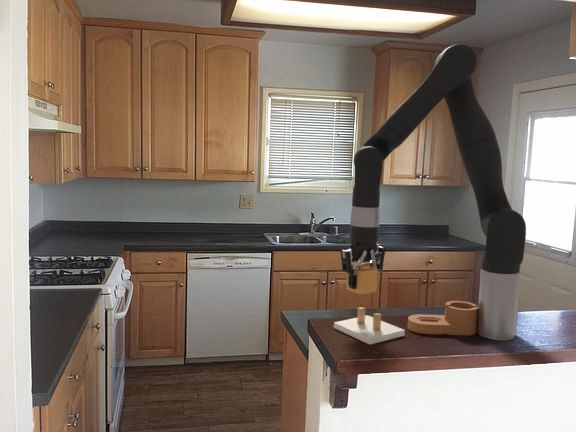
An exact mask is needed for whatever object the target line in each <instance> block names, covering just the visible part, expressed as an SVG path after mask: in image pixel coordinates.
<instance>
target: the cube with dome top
mask: <svg viewBox="0 0 576 432" xmlns="http://www.w3.org/2000/svg"><path fill="white" fill-rule="evenodd" d="M354 267H355V266H354ZM353 270H354V268H353ZM378 273H379V270H378V269H375V268H371V267H370V264H367V263H365V262H364V263H362V265H361V267H360V268H359V270H358V272H357V288H356V289H352V288H350V287H349V285H348V281H349V280H348V278H349V274H348V273H346V274H347V275H346V290H347V291H350V292H353V293H356V294H358V295H367V294H371V293H377V291H378V275H379V274H378Z"/></svg>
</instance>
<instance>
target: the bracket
mask: <svg viewBox="0 0 576 432" xmlns="http://www.w3.org/2000/svg"><path fill="white" fill-rule="evenodd" d="M444 308H445V310H444V315H443V314H417V313H416V314H412V315H411V314H410V315H409V316H408V317H407V328H408V330H409V331H412V332H413V333H417V334H422V335H424V334H425V335H442V334H449V335H448V336H472V335H473V334H474V335H476V334H478V333H477V321H478V305H477V304H476V303H472V302H469V301H463V300H450V301H447V302H445V307H444Z"/></svg>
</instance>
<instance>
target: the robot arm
mask: <svg viewBox="0 0 576 432" xmlns="http://www.w3.org/2000/svg"><path fill="white" fill-rule="evenodd" d="M477 67H478V56H477V53H476V51H475V50H474V48H473V47H471V46H469V45H467V44H463V43H457V44H453V45H450V46H448V47H446V48H445V49H444V50H443V51H442V52H440V54H439V55H438V56H437V58H436V59H435V62H434V65H433V69H432V70H431V72H430V73H429V74H428V76H427V77H426V78H425V80H424V81H423V82H422V83H421V84H420V85H419V86H418V87H417V89H416V90H415V91H414V92H412V93H411V94H410V95H409V96H408V97H407V98H406V99H405V100H404V101H403V102H402V103H401V104H400V105H399V106H397V108H396V109H395V110H394V111H393V112H392V113H391V114H390V115H389V116H388V117H387V118H386V119H385V121H383V123H382V124H381V125H380V126H379V128H378V129H377V130H376V132H375V133H374V134H373V135H372V136H370V137H369V138H368V140H366V141H365V142H364V143H363V144H362V145H361V147H359V148H358V149H357V151H355V153H354V156H353V166H354V186H353V188H352V189H353V190H352V201H351V202H352V203H351V211H350V219H349V220H350V222H349V224H350V225H349V241H350V247H349V249H341V250H340V260H341V268H342V269H341V271H342V272H343V273H346V274H347V273H348V274H349V278H348V280H349V281H348V285H349V287H350V288H352V289H356V288H357V272H358V270H359V268H360V267H361V265H362V263H367V264H370V267H371V268H375V269H378V271H379V270H382V269H383V266H384V262H385V255H386V250H387V249H386V247H384V246H380V245H377V244H378V243H379V240H380V239H379V238H380V237H379V235H380V222H381V220H380V219H381V215H380V201H381V199H380V198H381V181H382V175H383V164H384V161H385V160H386V159H387V158H388V157H389V156H390V155H391V153H393V151H395V150H396V149H397V148H399V147H400V146H401V145H402V144H403V143H404V142H405V141H406V140H407V139H408V138H409V137H410V135H412V133H413V132H414V131H415V130H416V129H417V128H418V127H419V126H420V125H421V123H422V122H423V121H424V120H425V119H426V118H427V116H428V115H429V114H430V113H431V112H432V111H433V110H434V108H435V107H436V106H437V105H438V104H440V102H441V101H442V100H443V99H444V101H445V102H446V105H447V109H448V112H449V117H450V120H451V125H452V129H453V133H454V136H455V141H456V144H457V147H458V151H459V154H460V158H461V161H462V164H463V167H464V169H465V172H466V175H467V177H468V180H469V182H470V185H471V188H472V190H473V193H474V196H475V200H476V205H477V210H478V211H477V212H478V216H479V223H480V227H481V231H482V233H483V234H484V235H485V237H486V238H485V239H486V240H485V249H484V250H485V251H484V254H483V257H482V258H481V261H480V263H481V264H480V277H479V278H480V279H479V293H478V294H479V295H478V305H477V307H478V321H477V333H476V334H477V335H479V336H480V337H481V338H482V337H483V338H484V339H485V338H486V339H489V340H492V341H502V342H503V341H505V342H507V341H512V340H514V339H515V338H516V337H515V336H516V335H517V331H518V329H517V328H518V317H519V303H520V300H519V299H518V298H519V297H518V296H519V287H520V286H519V285H520V284H519V282H520V271H521V266H522V263H523V260H524V256H525V254H524V253H525V248H526V247H525V246H526V236H527V224H526V221H525V219H524V217H523V216H522V215H521V213H519V212H517V211H516V210H514V209H512V206H511V204H510V201H509V198H508V196H507V194H506V191H505V187H504V183H503V165H502V155H501V150H500V147H499V143H498V140H497V139H498V138H497V137H496V133H495V130H494V128H493V125H492V123H491V122H490V120H489V118H488V116H487V115H486V113H485V112H484V109H483V108H482V107H481V105H480V103H479V101H478V99H477V96H476V93H475V89H474V84H473V80H472V76H473V75H474V73H475V72H476V70H477ZM354 266H355V267H354ZM353 268H354V270H353Z"/></svg>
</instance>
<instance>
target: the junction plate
mask: <svg viewBox="0 0 576 432" xmlns="http://www.w3.org/2000/svg"><path fill="white" fill-rule="evenodd" d="M333 329H335V330H337V331H340V332H341V333H344V334H346V335H348V336H351V337H353V338H355V339H357V340H359V341H361V342H362V343H363V342H364V343H366V344H368V345H374V344H377V343H382V342H385V341H389V340H394V339H397V338H400V337H405V334H406V333H405V329H404V328H401V327H398V326H396V325H392V324H390V323H388V322H385V321H384V320H382V314H381V313H379V312H378V313H376V312H375V313H373V315H372V316H371V315H366V307H361V306H359V307H357V317H353V318H348V319H344V320H339V321H335V322H333Z"/></svg>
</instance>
